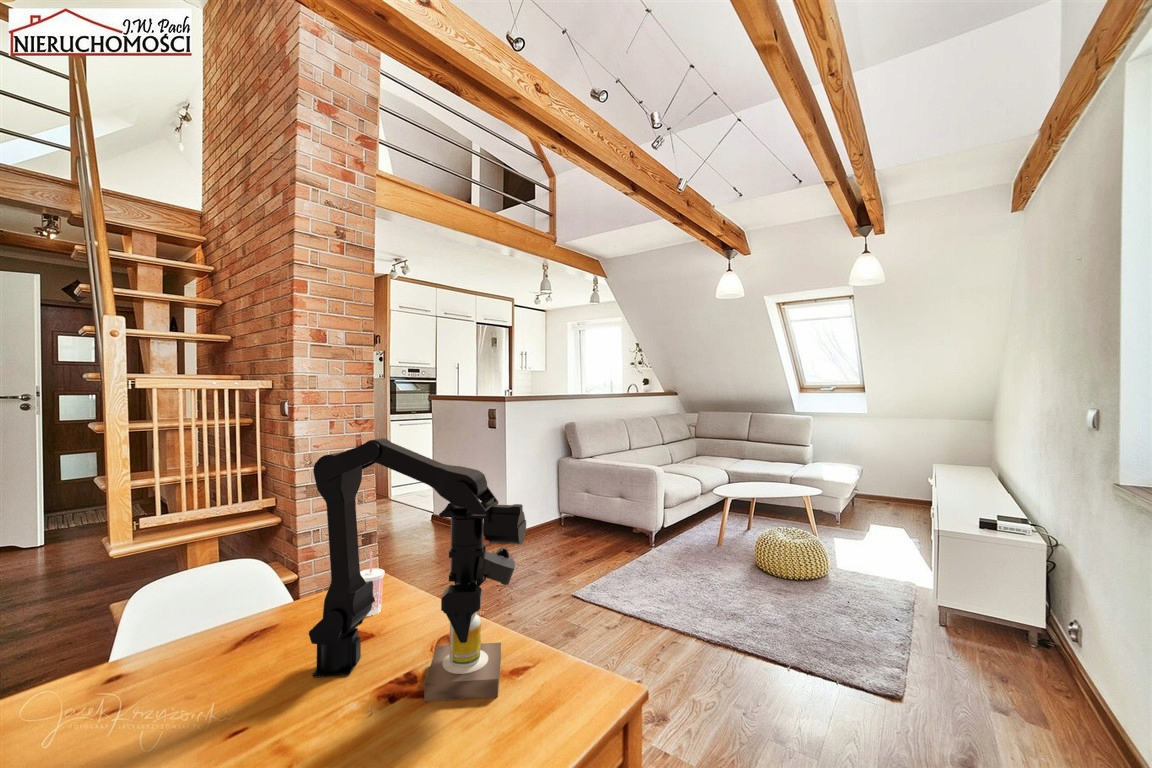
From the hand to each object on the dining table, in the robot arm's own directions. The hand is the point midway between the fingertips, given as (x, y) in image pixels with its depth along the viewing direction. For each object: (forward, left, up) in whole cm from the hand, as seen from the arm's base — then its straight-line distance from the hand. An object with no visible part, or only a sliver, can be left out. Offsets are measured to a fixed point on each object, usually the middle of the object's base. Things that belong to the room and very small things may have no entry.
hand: (466, 629), depth 87 cm
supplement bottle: (0, 0, -6) cm, 6 cm away
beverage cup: (-25, +29, -9) cm, 39 cm away
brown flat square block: (0, 0, -9) cm, 9 cm away
